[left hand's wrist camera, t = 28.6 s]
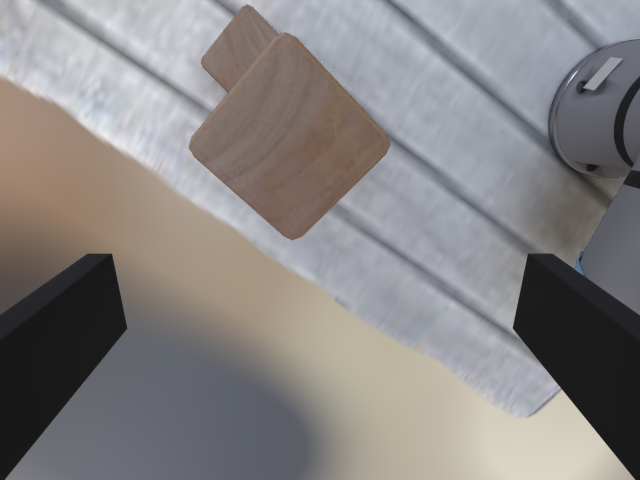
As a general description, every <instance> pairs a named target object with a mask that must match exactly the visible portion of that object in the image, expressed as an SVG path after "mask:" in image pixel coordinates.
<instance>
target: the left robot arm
mask: <svg viewBox="0 0 640 480" xmlns="http://www.w3.org/2000/svg"><path fill="white" fill-rule="evenodd" d="M549 132H550V138H551V142H552V145H553V148H554V150H555V152H556V153H557V155H558V156H559V158H560V159H561V160H562V161H563V162H564V163H565V164H566V165H567V166H569V167H570V168H572V169H574V170H576V171H578V172H580V173H584V174H587V175H590V176H594V177H602V178H617V177H625V176H627V178H626V179H625V181H624V183H623V184H622V186H621V187H620V189H619V191H618V193H617V194H616V196H615V198H614V199H613V201H612V203H611V205H610V206H609V208H608V210H607V212H606V213H605V215H604V217H603V219H602V220H601V222H600V224H599V226H598V227H597V229H596V231H595V233H594V234H593V236H592V238H591V240H590V241H589V243H588V245H587V247H586V248H585V250H584V251H583V252H581V253H580V254H579V256H578V258H577V263H576V267H575V269H573V268H572V267H571V266H569V265H568V264H566V263H565V262H563V261H562V260H561V259H559V258H558V257H556V256H555V255H553V254H528V257H527V261H526V266H525V271H524V276H523V281H522V286H521V291H520V296H519V300H518V305H517V310H516V315H515V320H514V325H513V329H514V331H515V332H516V333H517V334H518V335H519V337H520V338H521V339H522V340H523V342H524V343H525V344H526V345H527V347H528V348H529V349H530V350H531V352H532V353H533V354H534V355H535V356H536V358H537V359H538V360H539V361H540V363H541V364H542V365H543V366H544V368H545V369H546V370H547V371H548V372H549V374H550V375H551V376H552V377H553V379H554V380H555V381H556V382H557V384H558V385H559V386H560V387H561V389H562V390H563V391H564V392H565V393H566V395H567V396H568V397H569V398H570V400H571V401H572V402H573V403H574V405H575V406H576V407H577V408H578V409H579V411H580V412H581V413H582V414H583V416H584V417H585V418H586V419H587V421H588V422H589V423H590V424H591V426H592V427H593V428H594V429H595V430H596V432H597V433H598V434H599V435H600V437H601V438H602V439H603V440H604V442H605V443H606V444H607V445H608V447H609V448H610V449H611V450H612V451H613V453H614V454H615V455H616V456H617V458H618V459H619V460H620V461H621V463H622V464H623V465H624V466H625V467H626V469H627V470H628V471H629V472H630V474H631V475H632V476H633V477H634V479H635V480H640V39H637V40H629V41H623V42H618V43H614V44H611V45H608V46H605V47H603V48H601V49H599V50H597V51H595V52H593V53H592V54H590V55H589V56H587V57H586V58H585V59H583V60H582V61H581V62H580V63H579V64H578V65H577V66H576V67H575V68H574V69H573V70H572V71H571V72H570V73H569V74H568V76H567V77H566V78H565V80H564V81H563V83H562V84H561V86H560V88H559V90H558V92H557V94H556V96H555V98H554V101H553V104H552V108H551V112H550V119H549ZM631 186H632V187H631ZM634 187H635V188H634ZM638 188H639V189H638ZM126 329H127V325H126V320H125V315H124V310H123V305H122V301H121V296H120V291H119V286H118V281H117V276H116V271H115V266H114V261H113V257H112V254H87V255H85V256H84V257H82V258H81V259H79V260H78V261H77V262H75V263H74V264H72V265H71V266H70V267H68V268H67V269H65V270H64V271H62V272H61V273H59V274H58V275H57V276H55V277H54V278H52V279H51V280H50V281H48V282H47V283H45V284H44V285H42V286H41V287H40V288H38V289H37V290H35V291H34V292H33V293H31V294H30V295H28V296H27V297H25V298H24V299H22V300H21V301H20V302H18V303H17V304H15V305H14V306H13V307H11V308H10V309H8V310H7V311H5V312H4V313H3V314H1V315H0V480H5V479H6V477H7V476H8V475H9V474H10V472H11V471H12V470H13V469H14V467H15V466H16V465H17V464H18V463H19V461H20V460H21V459H22V458H23V456H24V455H25V454H26V453H27V451H28V450H29V449H30V448H31V447H32V445H33V444H34V443H35V442H36V440H37V439H38V438H39V437H40V435H41V434H42V433H43V432H44V430H45V429H46V428H47V427H48V426H49V424H50V423H51V422H52V421H53V419H54V418H55V417H56V416H57V414H58V413H59V412H60V411H61V409H62V408H63V407H64V406H65V405H66V403H67V402H68V401H69V400H70V398H71V397H72V396H73V395H74V393H75V392H76V391H77V390H78V388H79V387H80V386H81V385H82V384H83V382H84V381H85V380H86V379H87V377H88V376H89V375H90V374H91V372H92V371H93V370H94V369H95V367H96V366H97V365H98V364H99V363H100V361H101V360H102V359H103V358H104V356H105V355H106V354H107V353H108V352H109V350H110V349H111V348H112V347H113V345H114V344H115V343H116V342H117V340H118V339H119V338H120V337H121V335H122V334H123V333H124V332H125V331H126Z"/></svg>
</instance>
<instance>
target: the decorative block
mask: <svg viewBox="0 0 640 480" xmlns="http://www.w3.org/2000/svg"><path fill="white" fill-rule="evenodd" d="M201 64H202V66H203V68H204V69H205V70H206V71H207V72H208V73H209V74H210V75H211V76H212V77H213V78H214V79H215V80H216V81H217V82H218V83H219V84H220V85H221V86H222V87H223V88H224V89H225V90H226V91H227V92H228V94H227V95H226V96H225V98H224V99H223V100H222V101H221V102H220V104H219V105H218V106H217V107H216V108H215V110H214V111H213V112H212V113H211V114H210V116H209V117H208V118H207V119H206V120H205V122H204V123H203V124H202V125H201V126H200V128H199V129H198V130H197V131H196V132H195V134H194V135H193V136H192V137H191V141H190V145H189V149H190V150H191V152H192V154H193V156H194V157H195V158H196V159H197V160H198V161H199V162H201V163H202V164H203V165H204V166H205V167H206V168H207V169H209V170H210V171H211V172H212V173H213V174H214V175H215V176H216V177H218V178H219V179H220V180H221V181H222V182H223V183H224V184H225V185H227V186H228V187H229V188H230V189H231V190H232V191H233V192H235V193H236V194H237V195H238V196H239V197H240V198H241V199H242V200H244V201H245V202H246V203H247V204H248V205H249V206H250V207H251V208H253V209H254V210H255V211H256V212H257V213H258V214H259V215H261V216H262V217H263V218H264V219H265V220H266V221H267V222H268V223H270V224H271V225H272V226H273V227H274V228H275V229H276V230H277V231H279V232H280V233H281V234H282V235H283V236H284V237H287V238H289V239H291V240H294V239H297V238H299V237H302V236H303V235H304V234H305V233H306V232H307V231H308V230H309V229H310V228H311V227H312V226H313V225H314V224H315V223H316V222H317V221H318V220H319V219H320V218H321V217H322V216H323V215H324V214H325V213H327V212H328V211H329V210H330V209H331V208H332V207H333V206H334V205H335V204H336V203H337V202H338V201H339V200H340V199H341V198H342V197H343V196H344V195H345V194H346V193H347V192H348V191H349V190H350V189H351V188H352V187H353V186H354V185H355V184H356V183H357V182H358V181H359V180H360V179H361V178H362V177H363V176H364V175H365V174H366V173H367V172H368V171H369V170H370V169H371V168H372V167H373V166H374V165H375V164H377V163H378V162H379V161H380V160H381V159H382V158H383V157H384V156H385V155H386V153H387V151H388V149H389V147H390V141H389V138H388V136H387V134H386V133H385V132H384V131H383V129H382V128H381V127H380V126H379V125H378V124H377V123H376V122H375V121H374V120H373V119H372V118H371V117H370V116H369V115H368V113H367V112H366V111H365V110H364V109H363V108H362V107H361V106H360V105H359V104H358V103H357V102H356V101H355V100H354V99H353V97H352V96H351V95H350V94H349V93H348V92H347V91H346V90H345V89H344V88H343V87H342V86H341V85H340V84H339V83H338V81H337V80H336V79H335V78H334V77H333V76H332V75H331V74H330V73H329V72H328V71H327V70H326V69H325V68H324V67H323V65H322V64H321V63H320V62H319V61H318V60H317V59H316V58H315V57H314V56H313V55H312V54H311V53H310V52H309V51H308V50H307V48H306V47H305V46H304V45H303V44H302V43H301V42H300V41H299V40H298V39H297V38H296V37H294V36H292V35H290V34H288V33H283V34H281V35H279V34H278V33H277V32H276V31H275V30H274V29H273V28H272V27H271V26H270V25H269V24H268V22H267V21H266V20H265V19H264V18H263V17H262V16H261V15H260V14H259V13H258V12H257V11H256V10H255V9H254V8H253V7H252V6H250V5H245V6H243V7H242V8H241V9H240V11H239V12H238V13H237V14H236V16H235V17H234V18H233V19H232V21H231V22H230V23H229V24H228V26H227V27H226V28H225V29H224V31H223V32H222V33H221V35H220V36H219V37H218V38H217V40H216V41H215V42H214V43H213V45H212V46H211V47H210V48H209V50H208V51H207V52H206V54H205V55H204V56H203V57H202V60H201Z"/></svg>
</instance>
